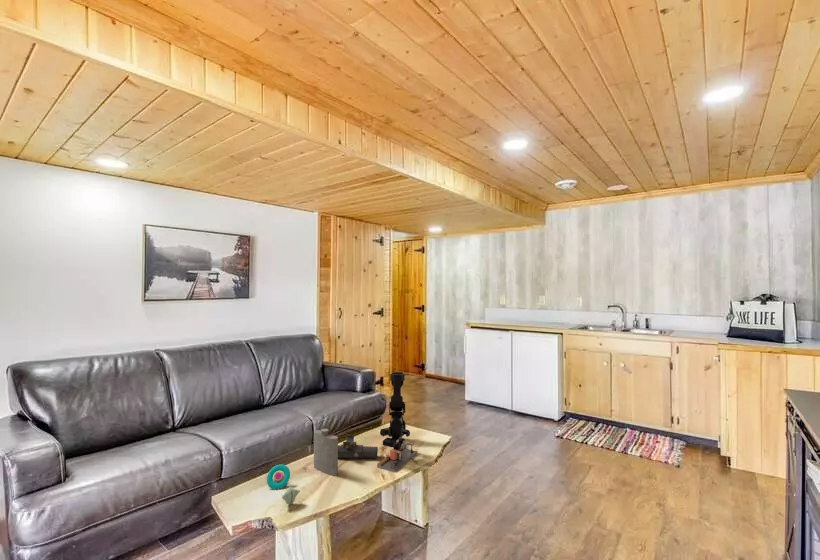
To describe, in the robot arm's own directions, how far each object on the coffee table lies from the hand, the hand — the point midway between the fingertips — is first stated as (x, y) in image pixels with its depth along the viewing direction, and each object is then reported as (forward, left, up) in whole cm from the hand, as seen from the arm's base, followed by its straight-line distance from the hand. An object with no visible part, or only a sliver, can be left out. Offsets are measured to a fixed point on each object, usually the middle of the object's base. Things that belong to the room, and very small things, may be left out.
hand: (396, 454), depth 210 cm
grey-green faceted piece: (+57, -17, -3) cm, 60 cm away
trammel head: (+3, 0, -1) cm, 3 cm away
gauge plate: (+1, +1, -3) cm, 3 cm away
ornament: (+49, -33, -3) cm, 59 cm away
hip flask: (+28, -24, -3) cm, 37 cm away
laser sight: (+8, -20, -3) cm, 22 cm away
